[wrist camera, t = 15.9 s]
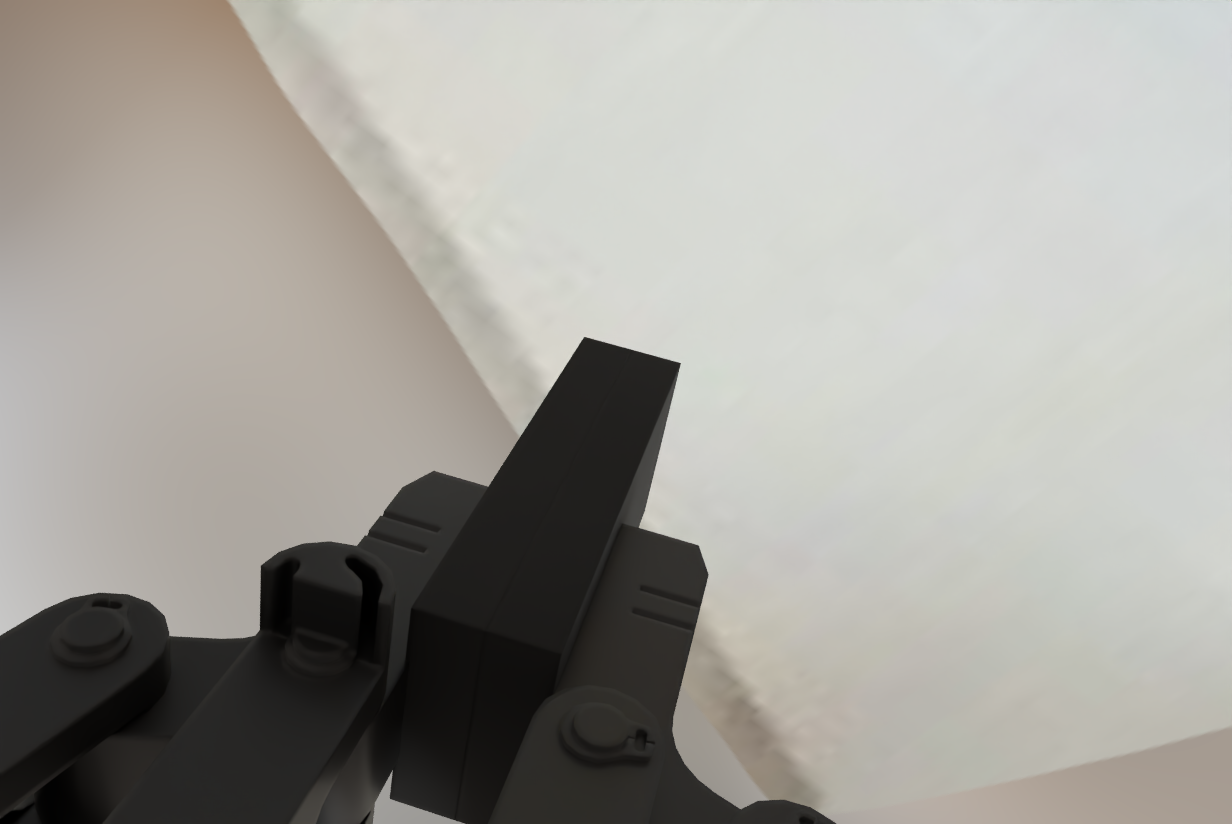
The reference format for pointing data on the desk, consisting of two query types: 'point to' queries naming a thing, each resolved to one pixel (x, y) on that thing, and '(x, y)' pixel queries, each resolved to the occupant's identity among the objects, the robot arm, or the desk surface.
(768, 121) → the desk surface
